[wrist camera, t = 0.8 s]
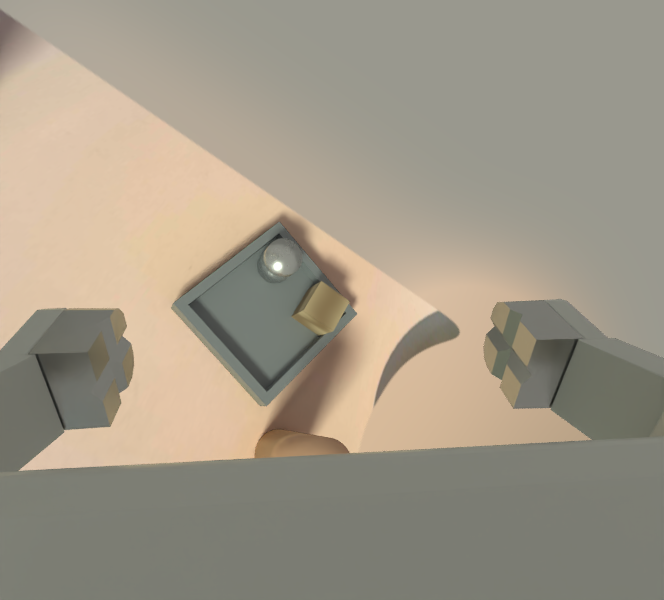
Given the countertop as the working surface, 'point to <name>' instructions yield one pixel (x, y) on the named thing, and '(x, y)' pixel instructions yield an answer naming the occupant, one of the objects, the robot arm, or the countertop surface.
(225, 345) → the parts tray
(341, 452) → the canister
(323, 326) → the part oak
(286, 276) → the part metal
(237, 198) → the countertop surface
